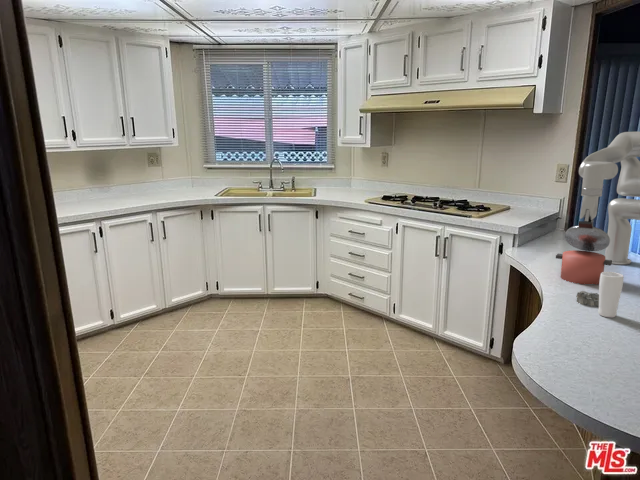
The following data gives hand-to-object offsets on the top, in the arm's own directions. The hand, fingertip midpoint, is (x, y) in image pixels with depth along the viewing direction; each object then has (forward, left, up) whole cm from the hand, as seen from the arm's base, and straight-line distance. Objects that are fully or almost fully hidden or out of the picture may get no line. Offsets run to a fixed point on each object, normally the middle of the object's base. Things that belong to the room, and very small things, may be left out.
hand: (587, 234), depth 189 cm
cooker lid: (+1, 0, -2) cm, 2 cm away
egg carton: (+33, +9, -20) cm, 39 cm away
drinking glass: (+43, +15, -20) cm, 50 cm away
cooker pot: (+3, 0, -20) cm, 20 cm away
